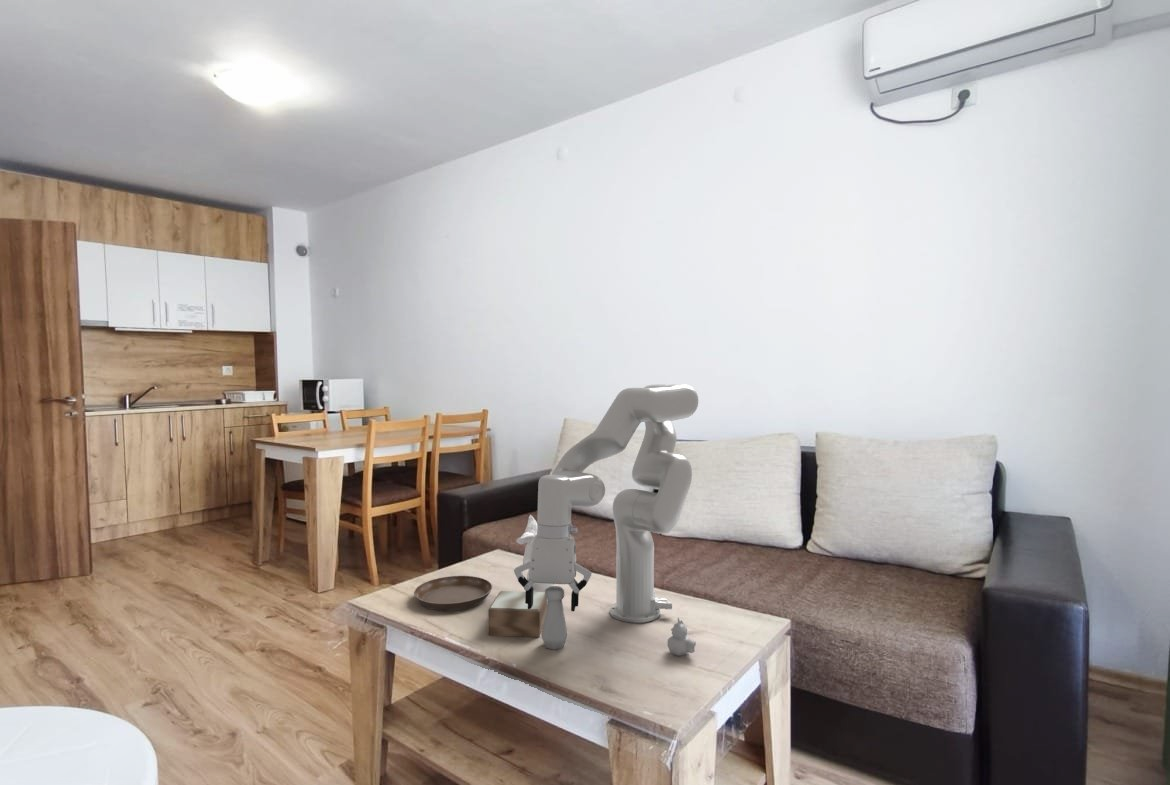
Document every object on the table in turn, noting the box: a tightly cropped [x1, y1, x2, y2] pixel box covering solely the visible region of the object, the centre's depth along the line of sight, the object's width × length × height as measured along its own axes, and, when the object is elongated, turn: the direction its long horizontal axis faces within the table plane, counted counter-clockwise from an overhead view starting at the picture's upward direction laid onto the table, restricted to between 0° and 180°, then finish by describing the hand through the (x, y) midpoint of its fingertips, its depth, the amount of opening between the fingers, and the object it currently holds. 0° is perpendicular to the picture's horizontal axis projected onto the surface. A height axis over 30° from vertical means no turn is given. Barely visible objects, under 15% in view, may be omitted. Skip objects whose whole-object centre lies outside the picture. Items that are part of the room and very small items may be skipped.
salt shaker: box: [540, 585, 568, 651], centre depth 132 cm, size 6×6×13 cm
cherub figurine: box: [515, 514, 555, 603], centre depth 161 cm, size 12×12×22 cm
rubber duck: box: [667, 617, 697, 657], centre depth 128 cm, size 5×7×8 cm
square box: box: [487, 590, 548, 638], centre depth 143 cm, size 12×12×6 cm
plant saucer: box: [413, 575, 493, 612], centre depth 161 cm, size 21×21×3 cm
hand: (551, 608), depth 132 cm, fingers open, 9 cm apart
